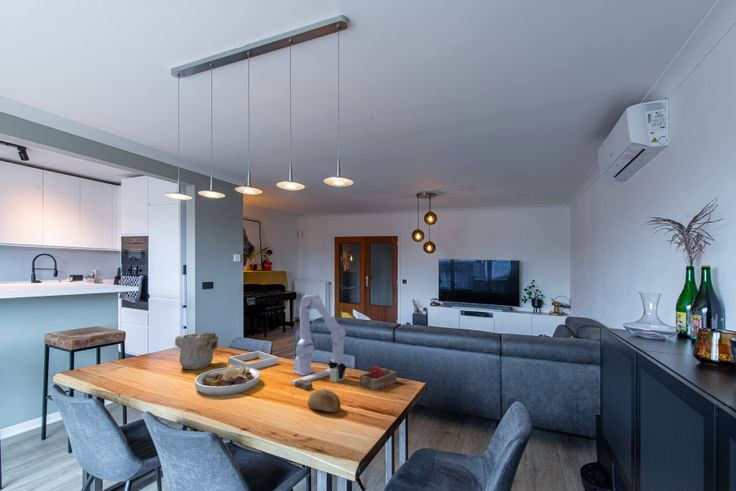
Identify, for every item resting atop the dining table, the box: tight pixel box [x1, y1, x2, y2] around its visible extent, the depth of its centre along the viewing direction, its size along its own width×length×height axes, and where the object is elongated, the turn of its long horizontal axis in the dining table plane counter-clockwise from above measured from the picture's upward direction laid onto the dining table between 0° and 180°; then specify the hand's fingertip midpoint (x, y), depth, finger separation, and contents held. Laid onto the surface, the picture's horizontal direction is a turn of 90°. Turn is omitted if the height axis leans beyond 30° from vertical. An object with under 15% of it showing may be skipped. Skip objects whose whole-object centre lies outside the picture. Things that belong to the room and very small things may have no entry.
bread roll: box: [307, 388, 341, 413], centre depth 139 cm, size 10×15×8 cm, turn 69°
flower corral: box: [227, 350, 279, 370], centre depth 201 cm, size 21×20×4 cm
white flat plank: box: [290, 368, 330, 386], centre depth 178 cm, size 4×28×2 cm, turn 141°
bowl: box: [194, 366, 261, 396], centre depth 165 cm, size 30×30×8 cm
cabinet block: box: [329, 367, 346, 383], centre depth 175 cm, size 4×7×6 cm, turn 141°
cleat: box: [294, 379, 313, 391], centre depth 164 cm, size 8×4×2 cm, turn 51°
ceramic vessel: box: [174, 331, 219, 370], centre depth 197 cm, size 23×24×25 cm
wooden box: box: [359, 367, 397, 392], centre depth 170 cm, size 10×17×5 cm, turn 141°
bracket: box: [369, 365, 392, 388], centre depth 170 cm, size 12×4×8 cm, turn 65°
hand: (337, 377), depth 175 cm, fingers closed on cabinet block, 4 cm apart
